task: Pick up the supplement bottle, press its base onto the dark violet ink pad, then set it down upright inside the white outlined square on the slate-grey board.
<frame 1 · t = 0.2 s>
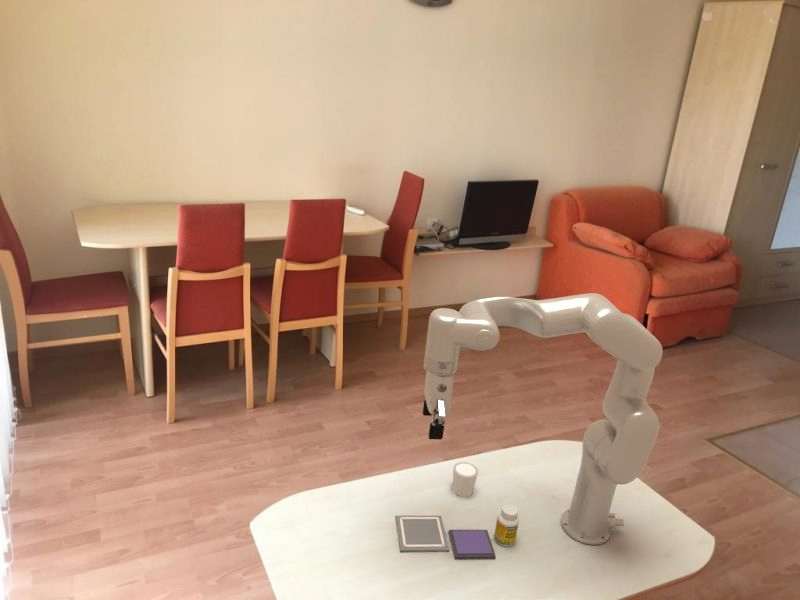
hand: (432, 426, 148), 31 cm above the table, fingers open, 9 cm apart
white short cylinder: (462, 490, 176), on the table
ink pad: (471, 545, 156), on the table
supplement bottle: (504, 540, 159), on the table
print board: (421, 534, 158), on the table
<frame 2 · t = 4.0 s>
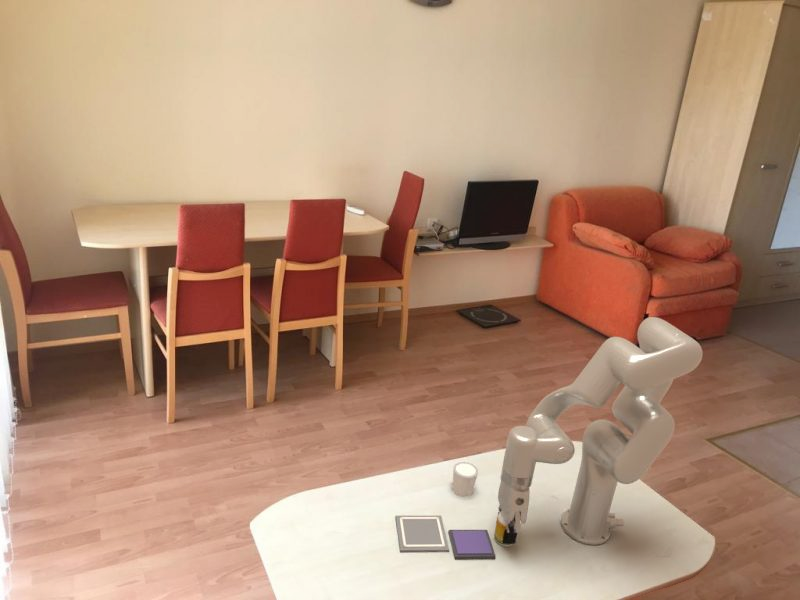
hand: (505, 533, 158), 2 cm above the table, fingers closed on supplement bottle, 5 cm apart
supplement bottle: (504, 540, 159), on the table, touching gripper
everything else where it was.
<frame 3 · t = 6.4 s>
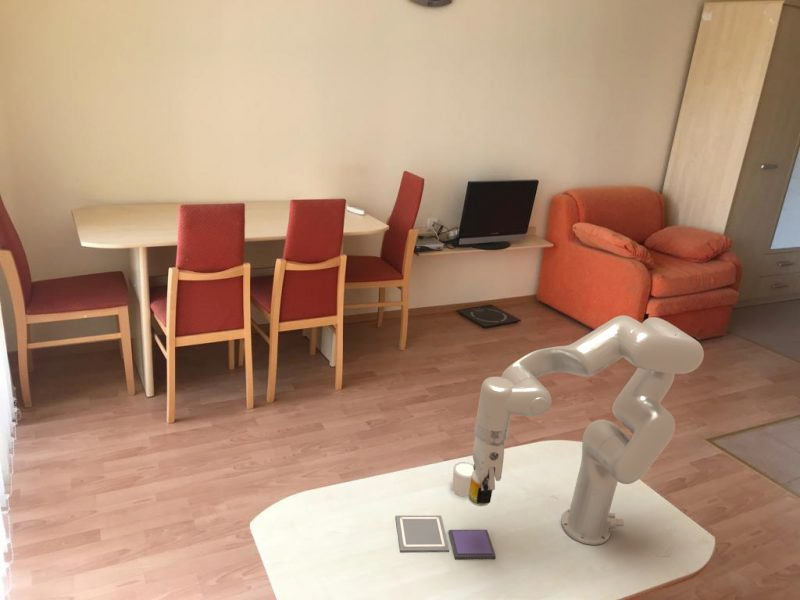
hand: (480, 492, 150), 16 cm above the table, fingers closed on supplement bottle, 5 cm apart
supplement bottle: (478, 500, 151), point 14 cm above the table, touching gripper
everything else where it was.
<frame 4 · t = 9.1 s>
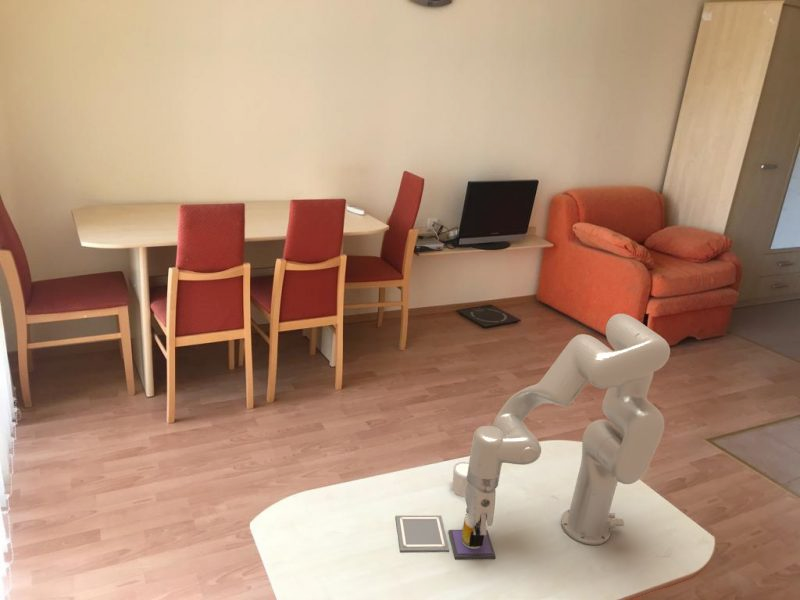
hand: (472, 535, 155), 3 cm above the table, fingers closed on supplement bottle, 5 cm apart
supplement bottle: (471, 542, 156), point 1 cm above the table, touching gripper, ink pad
everything else where it was.
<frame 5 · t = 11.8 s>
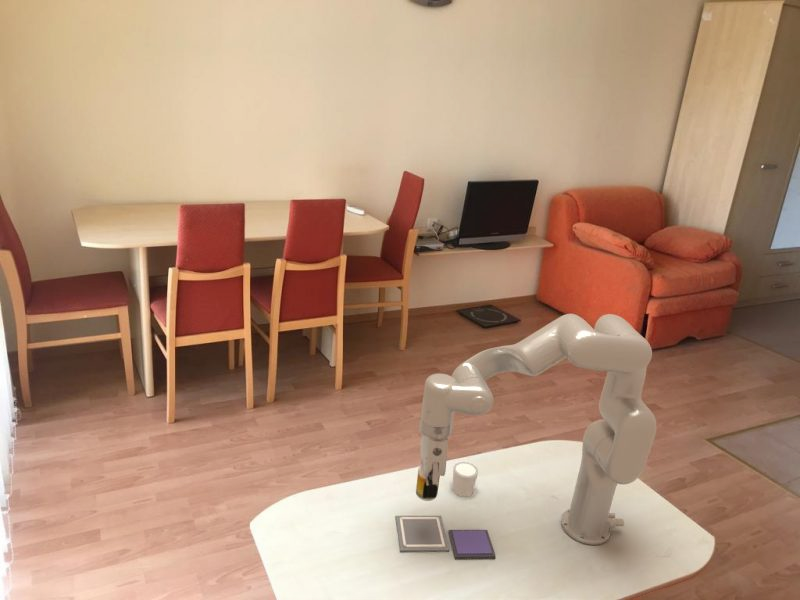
hand: (427, 487, 153), 14 cm above the table, fingers closed on supplement bottle, 5 cm apart
supplement bottle: (426, 495, 154), point 12 cm above the table, touching gripper
everything else where it was.
when the fingers open (3 cm above the table, at t = 14.4 s): supplement bottle stays where it is, resting on print board.
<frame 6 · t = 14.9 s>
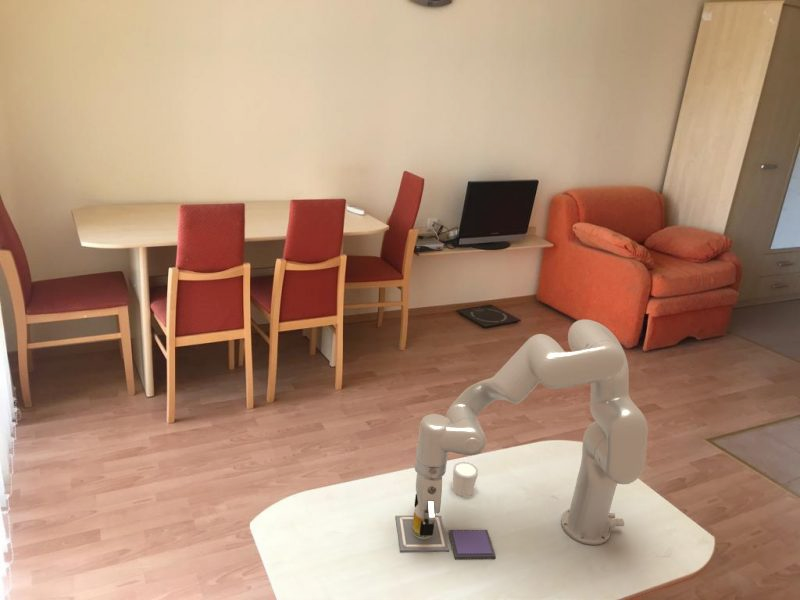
hand: (423, 520, 157), 4 cm above the table, fingers open, 9 cm apart
supplement bottle: (422, 532, 158), resting on print board
everything else where it was.
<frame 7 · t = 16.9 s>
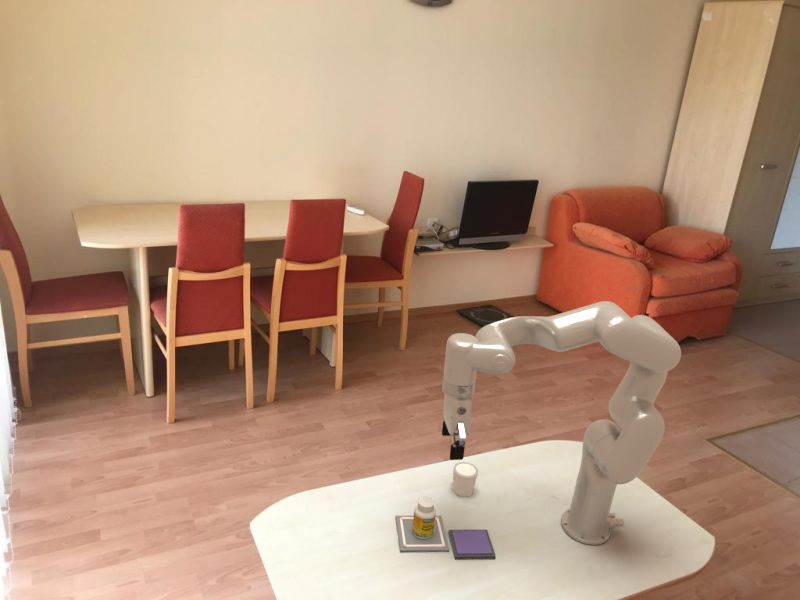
hand: (452, 446, 153), 24 cm above the table, fingers open, 9 cm apart
nothing on the table moved.
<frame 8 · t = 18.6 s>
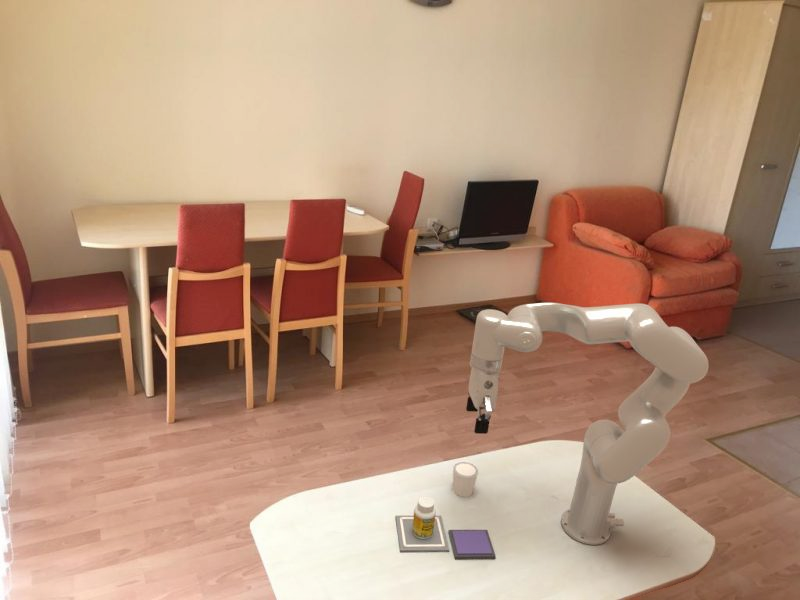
hand: (476, 421, 157), 28 cm above the table, fingers open, 9 cm apart
nothing on the table moved.
at the end: supplement bottle 0.2 cm off-centre on the print board, point 0.4 cm above the print board's base; supplement bottle tilted 0°; the gripper is holding nothing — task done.
